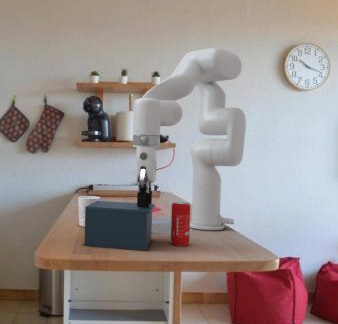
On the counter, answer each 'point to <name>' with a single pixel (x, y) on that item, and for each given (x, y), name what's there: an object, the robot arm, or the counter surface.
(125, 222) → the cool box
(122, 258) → the counter surface
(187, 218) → the beverage can
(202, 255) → the counter surface
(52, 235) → the counter surface
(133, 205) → the lid
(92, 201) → the white cup
